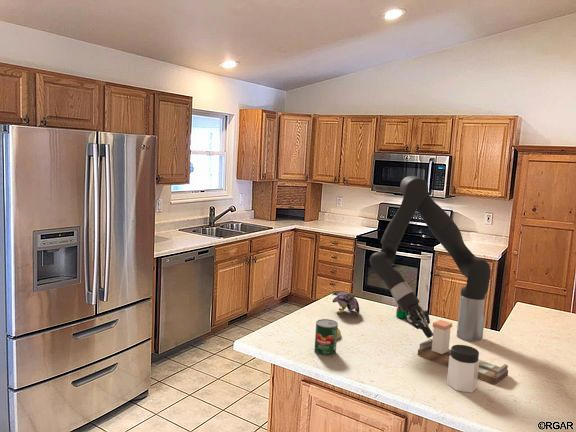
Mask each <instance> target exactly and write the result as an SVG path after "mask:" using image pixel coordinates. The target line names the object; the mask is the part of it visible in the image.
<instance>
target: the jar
mask: <svg viewBox="0 0 576 432" xmlns="http://www.w3.org/2000/svg"><path fill="white" fill-rule="evenodd" d="M450 350H451V355H450V356H449V366H447V367H448V368H447V376H446V384H447V385H448V386H449V387H451V388H452V389H453V390H455V391H457V392H463V393H470V394H471V393H473V392H474V391H475V390H476V388H477V385H478V379H479V378H478V368H479V360H480V359H479V358H480V357H479V355H480V352H479V350H478V349H477V348H475V347H473V346H470V345H465V344H455V345H452V346H451V348H450Z"/></svg>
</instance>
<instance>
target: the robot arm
mask: <svg viewBox="0 0 576 432" xmlns="http://www.w3.org/2000/svg"><path fill="white" fill-rule="evenodd" d="M399 188H400V192H401V194H402V196H403V197H402V202H401V203H400V206H399V208H398V209H397V211H396V213H395V214H394V215H393V217H392V219H391V220H390V221H389V223H388V224H387V227H386V228H385V230H384V231H383V234H382V237H381V240H380V243H381V248H380V251H377V252H374V253H372V254H371V255H370V257H369V263H370V267H371V268H372V270H373V272H375V273H376V274H377V276H378V277H379V278H380V279H381V280H382V281H383V282H384V284H385V285H386V287H387V288H388V290H389V291H390V293H391V296H392V297H393V299H394V301H395V302H396V305H397V304H398V305H399V307H400V308H401V310H402V311H403V312H405V311H406V314H407V316H408V317H407V318H406V319H405V321H406V323H408V324H409V325H411V326H412V327H414V328H415V329H417V330H421V331H422V333H423V334H424V335H425V337H426V339H431V338H433V330H431V328H430V327H429V324H431V319H430V313H429V311H428V310H427V309H425V310H423V308H422V306H420V305H419V303H420V299H419V298H418V297H417V295H416V293H415V292H414V291H413V289H412V287H411V286H410V285H409V284H408V283H407V281H406V280H405V278H404V277H403V276H402V274H401V273H400V271H398V270H397V269H395V268H393V266H392V265H393V264H394V262H395V260H396V259H395V258H396V255H397V251H398V247H399V245H400V243H401V240H402V239H403V237H404V234H405V233H406V232H405V231H406V229H407V228H408V226H409V224H410V223H411V222H410V221H412V219H413V216H414V215H415V213H416V212H418V213H419V215H420V217H421V219H422V220H423V222H424V223H425V225H426V226H427V227H428V229H429V230H430V231H431V233H432V234H433V236H434V238H436V240H437V241H438V242H439V243H440V244H441V246H442V247H443V248H444V249H445V250H446V252H447V253H448V254H449V255H450V256H451V258H452V259H453V261H454V263H455V264H456V267H457V268H458V269H459V272H460V273H461V274H462V275H463V276H464V277H465V278H467V279H466V284H465V286H464V287H463V286H462V287H461V289H460V294H459V295H460V296H459V307H458V318H457V325H456V337H458V338H459V339H462V340H464V341H469V342H479V341H481V339H483V336H484V327H485V319H486V318H485V315H484V309H485V301H486V295H487V292H488V291H489V286H490V280H491V266H490V264H489V262H488V261H487V260H485V259H483V258H480V257H478V256H476V255H475V254H474V253H473V252H472V251H471V250H470V249H469V248H468V247H467V245H466V244H465V242H464V240H463V235H462V233H461V231H460V228H459V227H458V225H457V224H456V222H455V221H454V220H453V219H452V217H451V216H450V215H449V214H448V213H447V212H446V211H445V210H444V209H443V208H442V207H441V206H440V205H439V204H438V203H436V202H435V200H434V199H433V198H432V197H431V195H430V194H429V185H428V183H427V181H426V180H424V178H421V177H419V176H416V175H415V176H414V175H409V176H406V177H404V178H402V180H401V182H400V185H399Z"/></svg>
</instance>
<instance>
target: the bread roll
mask: <svg viewBox="0 0 576 432" xmlns="http://www.w3.org/2000/svg"><path fill="white" fill-rule="evenodd" d="M341 332H342V331H341V330H340V329H339V328H338V329H337V340H339V339H340V338H341V336H342V333H341Z"/></svg>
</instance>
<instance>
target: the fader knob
mask: <svg viewBox="0 0 576 432" xmlns="http://www.w3.org/2000/svg"><path fill="white" fill-rule="evenodd" d="M432 327H433V330H432V333H433V336H432V339H433V340H432V351H434V352H437V353H439V354H444V353H445V352H447V351H449V348H450V341H451V339H450V338H451V328H452V327H453V323H452V322H449V321H446V320H443V319H438V320H436V321H434V322H432Z"/></svg>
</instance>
